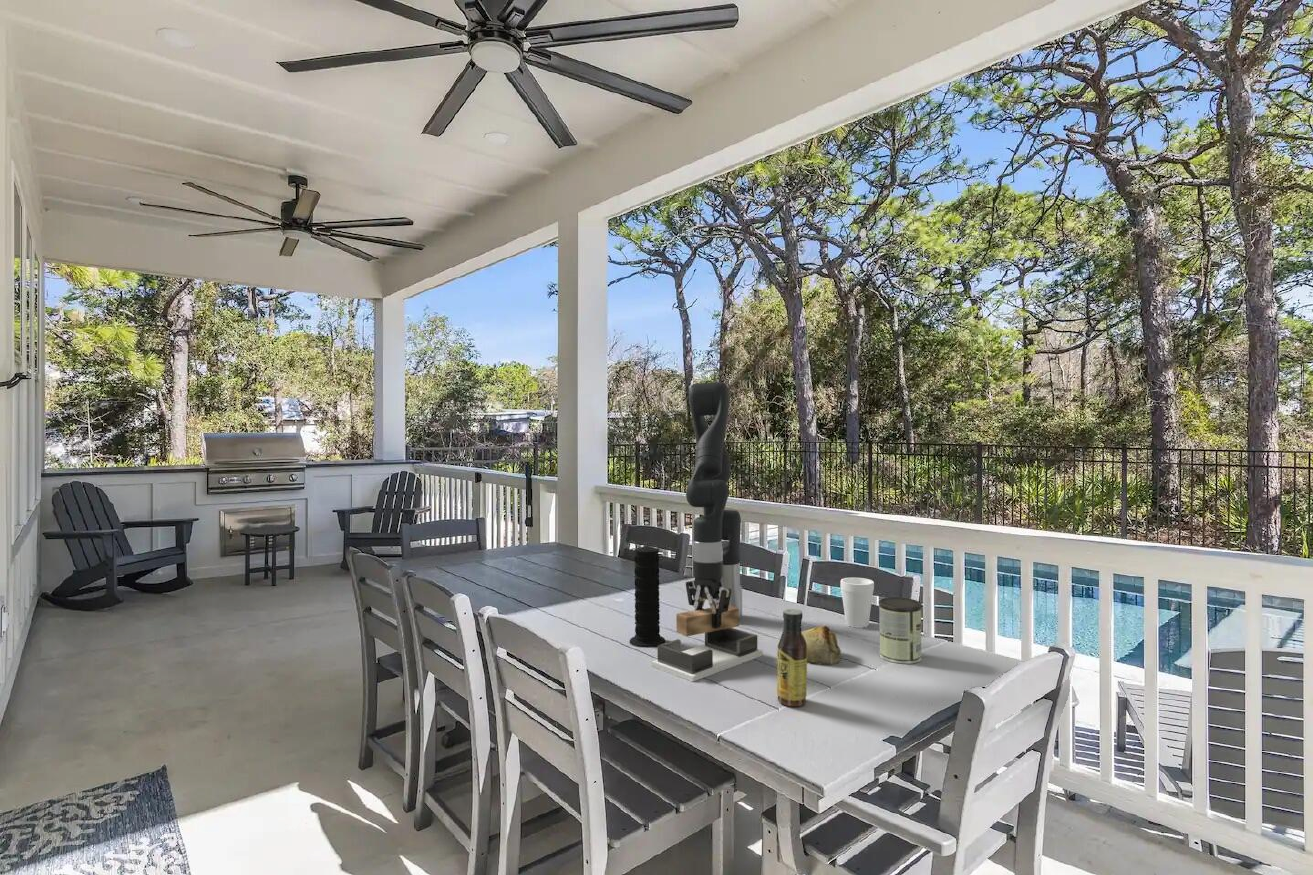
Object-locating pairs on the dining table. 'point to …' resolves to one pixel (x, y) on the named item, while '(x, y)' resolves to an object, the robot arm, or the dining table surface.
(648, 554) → the handle grip
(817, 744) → the dining table surface
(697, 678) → the mounting board
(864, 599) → the foam cup
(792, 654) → the sauce bottle
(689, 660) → the brackets
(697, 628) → the oak rail
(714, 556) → the robot arm
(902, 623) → the coffee can
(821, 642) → the pastry
